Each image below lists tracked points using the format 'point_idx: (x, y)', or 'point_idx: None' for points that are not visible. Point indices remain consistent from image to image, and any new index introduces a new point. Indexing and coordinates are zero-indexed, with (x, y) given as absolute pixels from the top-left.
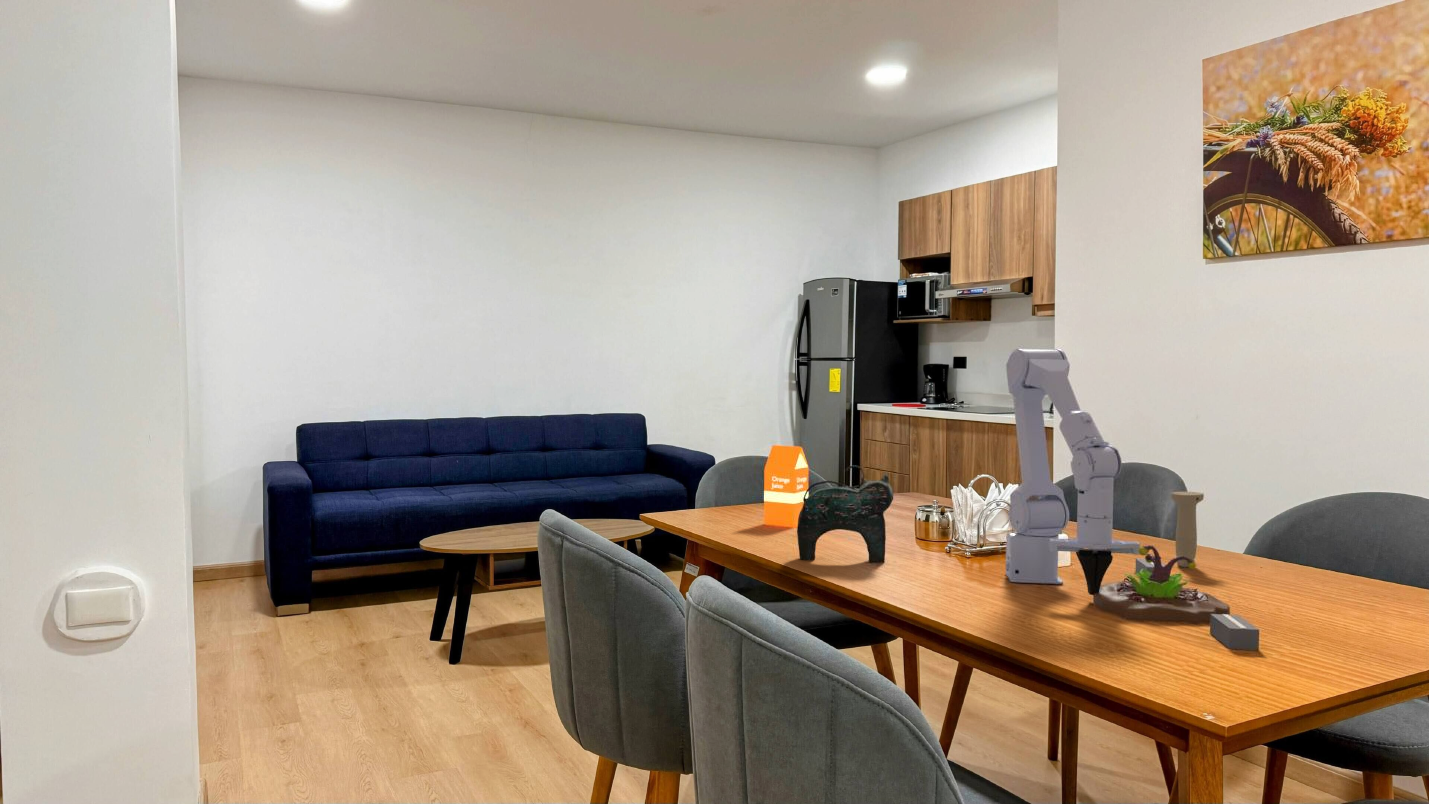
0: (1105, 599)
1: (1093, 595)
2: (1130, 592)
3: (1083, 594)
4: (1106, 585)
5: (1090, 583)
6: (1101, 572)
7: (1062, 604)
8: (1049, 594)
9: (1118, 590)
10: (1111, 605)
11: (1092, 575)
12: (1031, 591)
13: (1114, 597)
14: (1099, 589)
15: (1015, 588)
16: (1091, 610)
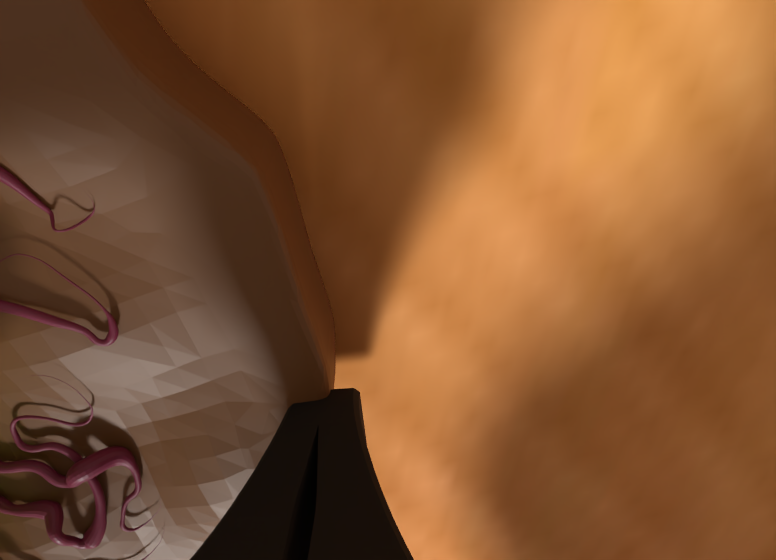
0: (239, 198)
1: None
2: (15, 408)
3: None
4: None
5: (359, 451)
6: (234, 554)
7: (588, 264)
8: (598, 485)
9: (123, 448)
10: (186, 93)
11: (338, 517)
12: (693, 520)
13: (152, 278)
14: None
15: (769, 555)
16: (379, 125)
